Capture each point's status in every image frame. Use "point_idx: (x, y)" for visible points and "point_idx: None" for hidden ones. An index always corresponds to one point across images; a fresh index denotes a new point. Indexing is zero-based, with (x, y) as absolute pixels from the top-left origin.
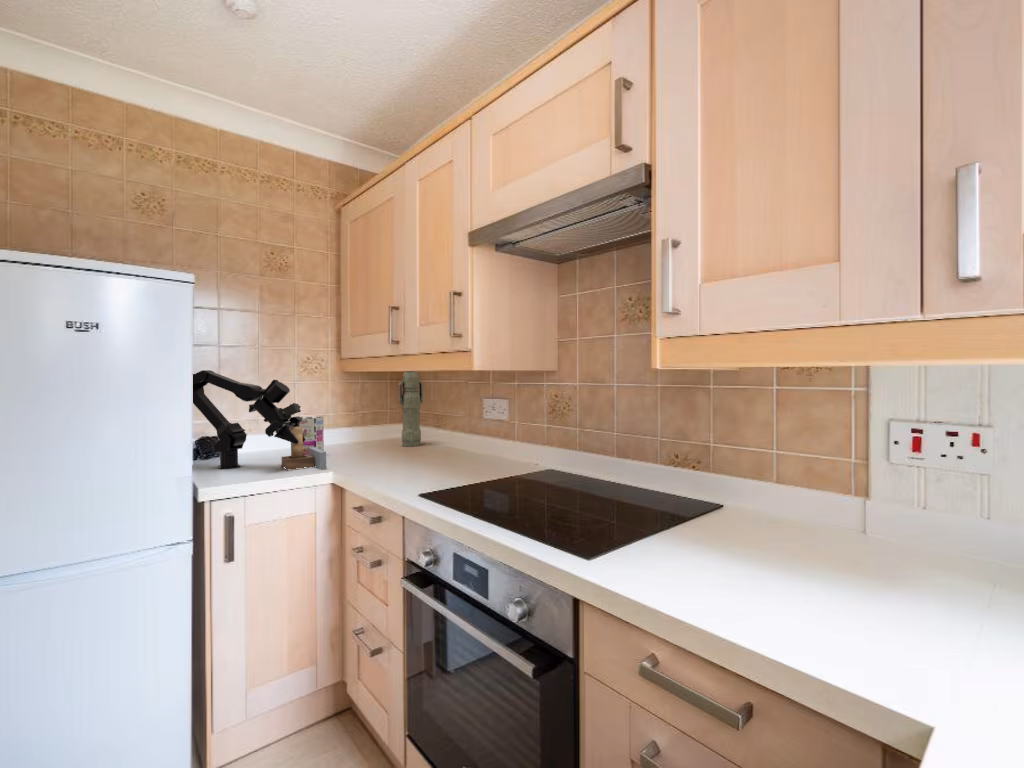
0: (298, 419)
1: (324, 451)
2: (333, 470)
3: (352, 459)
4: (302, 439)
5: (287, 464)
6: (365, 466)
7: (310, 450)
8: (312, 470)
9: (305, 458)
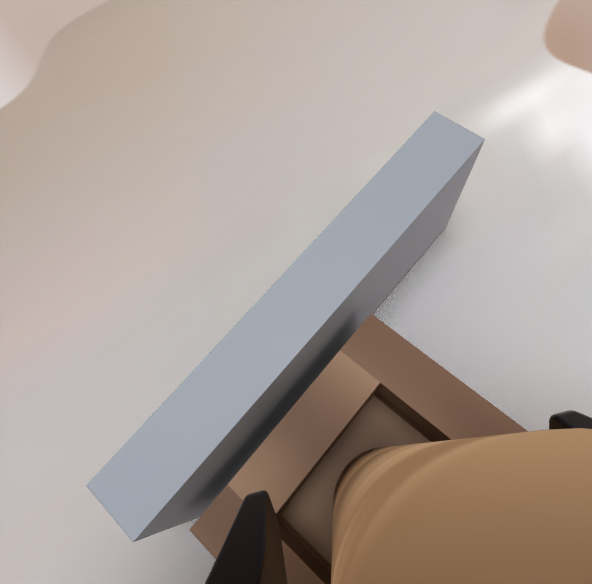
0: None
1: (405, 144)
2: None
3: (5, 252)
4: (400, 449)
5: None
6: (271, 42)
7: (215, 455)
8: (489, 266)
9: (440, 366)
